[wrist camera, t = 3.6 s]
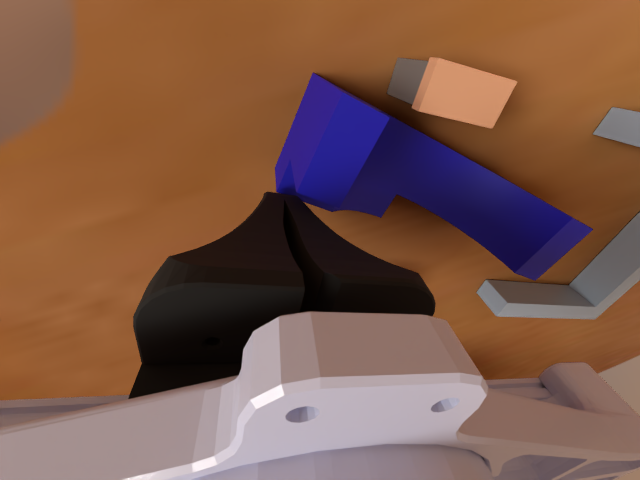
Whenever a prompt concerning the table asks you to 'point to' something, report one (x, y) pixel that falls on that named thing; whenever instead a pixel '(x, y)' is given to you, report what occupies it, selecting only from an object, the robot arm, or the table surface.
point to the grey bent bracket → (597, 278)
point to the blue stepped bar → (414, 179)
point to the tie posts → (451, 90)
